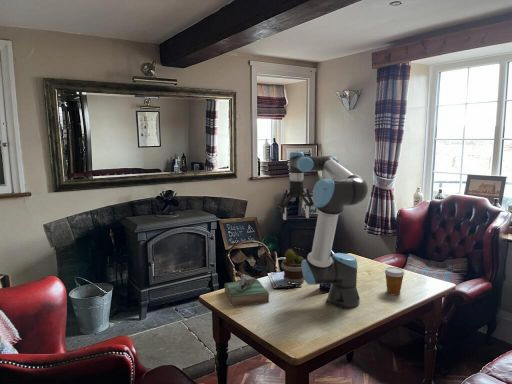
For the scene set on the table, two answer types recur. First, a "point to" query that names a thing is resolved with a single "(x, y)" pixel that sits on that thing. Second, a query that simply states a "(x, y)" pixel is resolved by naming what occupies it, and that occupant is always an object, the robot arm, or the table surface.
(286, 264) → the flowerpot
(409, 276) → the table surface
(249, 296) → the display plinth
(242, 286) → the mineral specimen
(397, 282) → the disposable coffee cup
